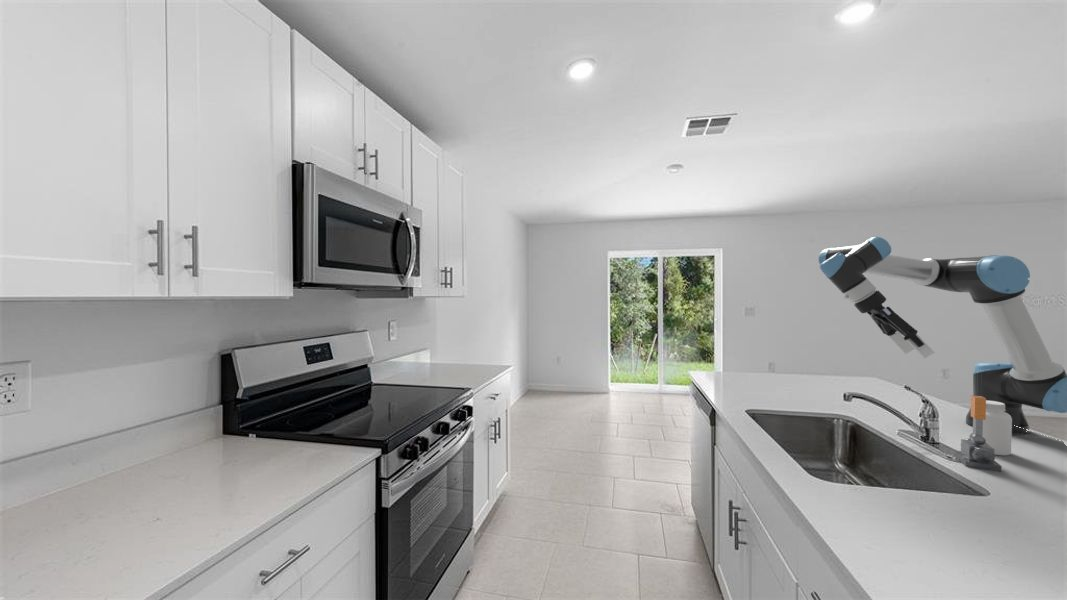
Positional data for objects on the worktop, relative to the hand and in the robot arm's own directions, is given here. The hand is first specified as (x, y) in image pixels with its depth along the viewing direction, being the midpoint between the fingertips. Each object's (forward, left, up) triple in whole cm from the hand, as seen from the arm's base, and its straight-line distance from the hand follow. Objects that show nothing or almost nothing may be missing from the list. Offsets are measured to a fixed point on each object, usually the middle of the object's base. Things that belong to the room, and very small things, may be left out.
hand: (919, 353), depth 125 cm
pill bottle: (-20, -14, -31) cm, 40 cm away
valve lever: (-13, 0, -25) cm, 28 cm away
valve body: (-13, 0, -31) cm, 33 cm away
